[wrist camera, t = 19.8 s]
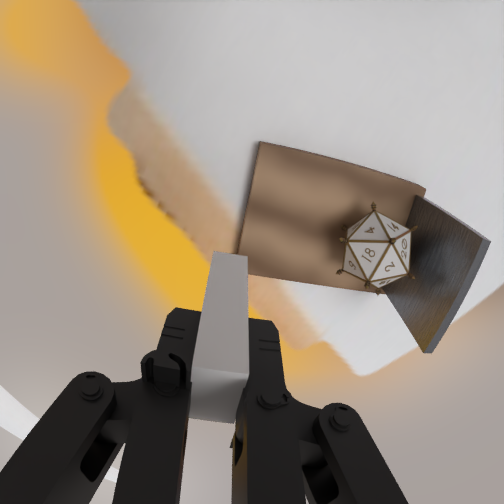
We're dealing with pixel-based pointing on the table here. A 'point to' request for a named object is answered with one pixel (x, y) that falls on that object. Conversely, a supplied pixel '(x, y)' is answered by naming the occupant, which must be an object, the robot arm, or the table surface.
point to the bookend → (436, 271)
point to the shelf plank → (313, 214)
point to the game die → (377, 250)
